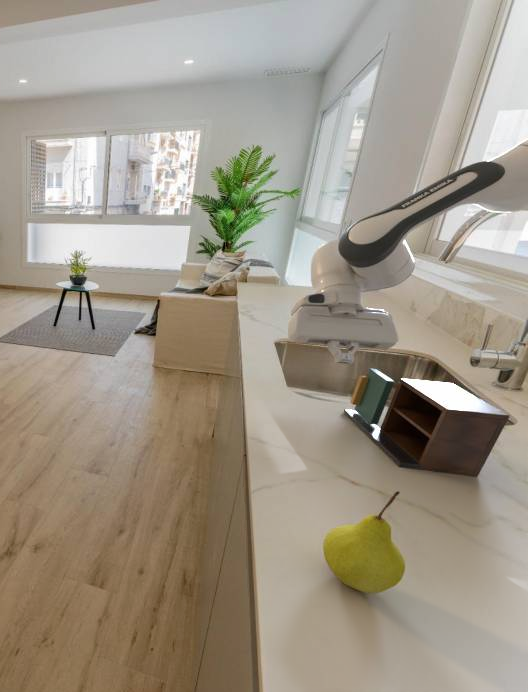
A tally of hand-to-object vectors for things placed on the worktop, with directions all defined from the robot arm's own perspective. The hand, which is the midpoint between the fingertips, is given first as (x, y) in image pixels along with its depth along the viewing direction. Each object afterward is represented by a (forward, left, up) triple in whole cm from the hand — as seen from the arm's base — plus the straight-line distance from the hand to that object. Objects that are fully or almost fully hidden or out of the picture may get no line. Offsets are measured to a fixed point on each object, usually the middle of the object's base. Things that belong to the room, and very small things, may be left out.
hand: (344, 362), depth 90 cm
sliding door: (0, +12, -7) cm, 14 cm away
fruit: (+20, +54, -8) cm, 58 cm away
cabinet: (-4, +18, -8) cm, 20 cm away
